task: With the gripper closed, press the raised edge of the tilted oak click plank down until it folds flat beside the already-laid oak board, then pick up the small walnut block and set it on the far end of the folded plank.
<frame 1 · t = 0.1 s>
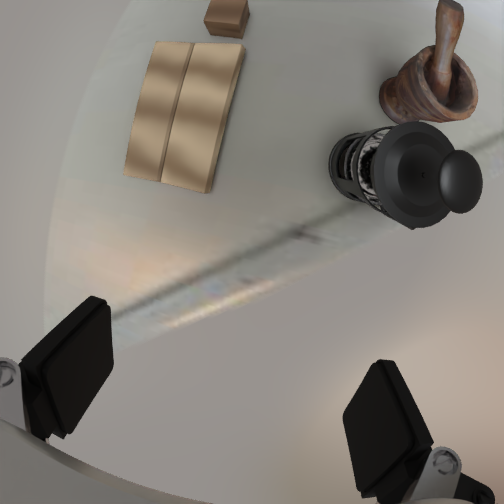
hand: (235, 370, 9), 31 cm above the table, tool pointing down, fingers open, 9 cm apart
walnut block: (230, 24, 31), on the table
laid board: (159, 108, 35), on the table
french press: (362, 170, 36), on the table
mortar and pestle: (394, 91, 32), on the table
click plank: (200, 112, 33), point 2 cm above the table, hinge at 14.6°
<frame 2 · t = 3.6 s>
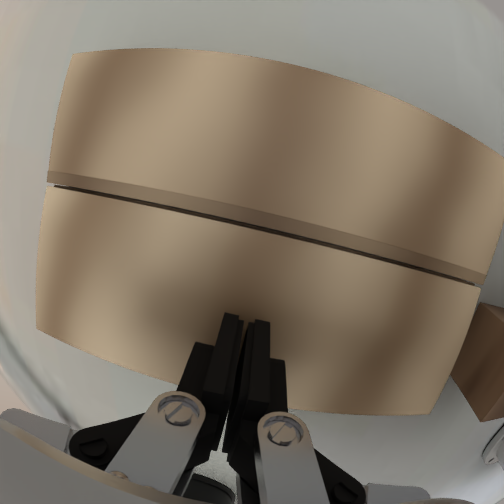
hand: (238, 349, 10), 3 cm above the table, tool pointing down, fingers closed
walnut block: (483, 338, 13), on the table
laid board: (293, 149, 11), on the table
french press: (181, 488, 20), on the table
click plank: (254, 317, 11), point 2 cm above the table, hinge at 11.7°, touching gripper
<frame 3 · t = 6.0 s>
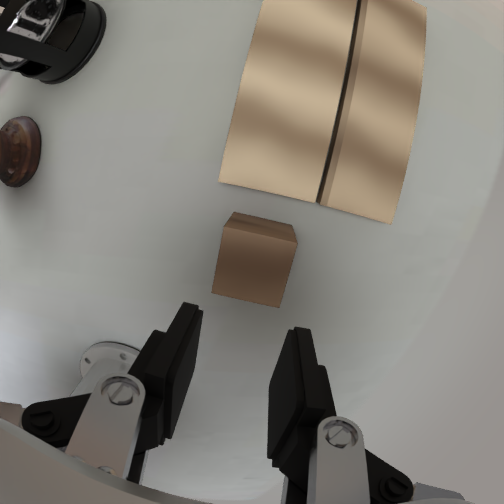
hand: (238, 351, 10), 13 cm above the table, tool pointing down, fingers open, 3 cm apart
walnut block: (256, 245, 23), on the table
laid board: (378, 90, 18), on the table
french press: (67, 39, 17), on the table
mortar and pestle: (27, 161, 21), on the table
click plank: (297, 60, 17), point 1 cm above the table, hinge at 4.6°
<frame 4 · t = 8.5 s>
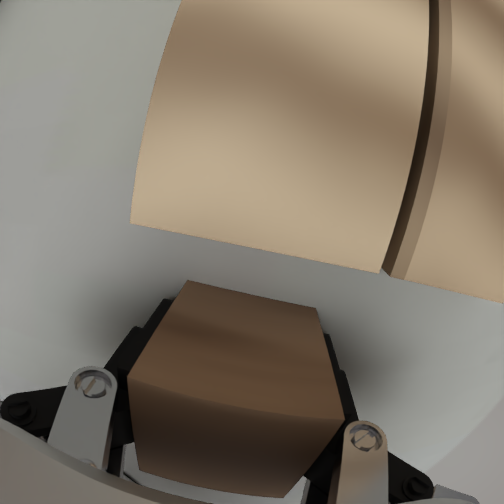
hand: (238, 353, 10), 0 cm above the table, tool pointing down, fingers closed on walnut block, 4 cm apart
walnut block: (239, 346, 10), on the table, touching gripper
laid board: (477, 39, 6), on the table
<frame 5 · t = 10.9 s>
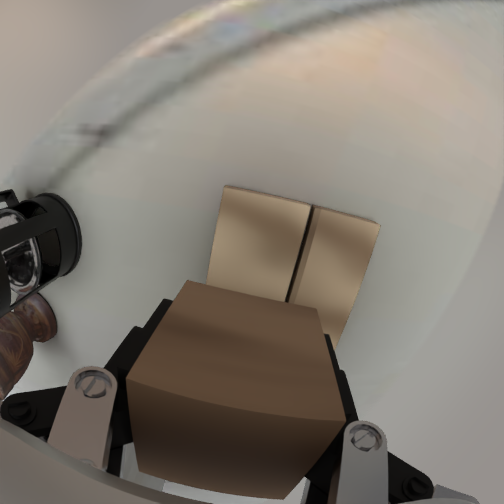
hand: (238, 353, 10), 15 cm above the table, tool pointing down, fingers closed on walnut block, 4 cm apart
walnut block: (239, 347, 10), point 15 cm above the table, touching gripper
laid board: (312, 315, 27), on the table
french press: (49, 231, 26), on the table
mortar and pestle: (46, 323, 30), on the table
click plank: (242, 306, 26), point 1 cm above the table, hinge at 4.6°
when the fingers open (3 cm above the table, at t = 13.5 s): walnut block stays where it is, resting on click plank.
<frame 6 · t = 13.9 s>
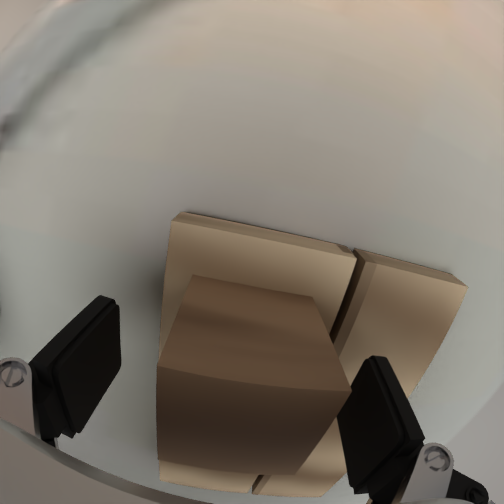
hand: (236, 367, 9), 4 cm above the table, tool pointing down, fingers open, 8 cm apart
walnut block: (241, 335, 11), point 2 cm above the table, touching click plank
laid board: (335, 413, 15), on the table
click plank: (223, 411, 14), point 1 cm above the table, hinge at 4.5°, touching walnut block
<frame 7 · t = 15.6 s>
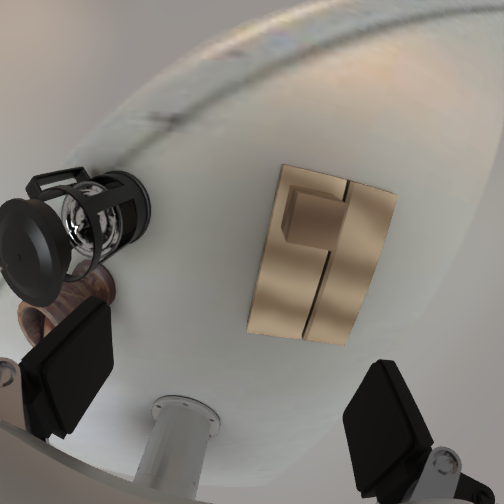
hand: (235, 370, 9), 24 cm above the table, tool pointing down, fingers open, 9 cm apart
walnut block: (306, 210, 29), point 2 cm above the table, touching click plank
laid board: (346, 268, 33), on the table
french press: (116, 204, 33), on the table
mortar and pestle: (103, 291, 37), on the table
click plank: (293, 260, 32), point 1 cm above the table, hinge at 4.5°, touching walnut block
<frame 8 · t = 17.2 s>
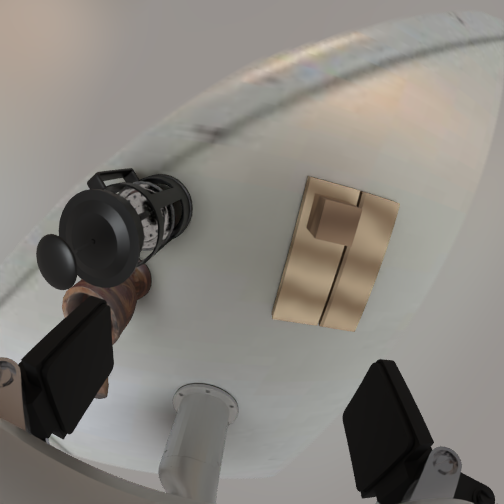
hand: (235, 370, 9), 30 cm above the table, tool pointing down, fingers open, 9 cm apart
walnut block: (327, 214, 36), point 2 cm above the table, touching click plank
laid board: (357, 264, 39), on the table
french press: (158, 204, 39), on the table
mortar and pestle: (138, 284, 43), on the table
click plank: (314, 256, 38), point 1 cm above the table, hinge at 4.5°, touching walnut block
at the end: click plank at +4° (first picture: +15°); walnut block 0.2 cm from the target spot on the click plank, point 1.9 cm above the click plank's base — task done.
